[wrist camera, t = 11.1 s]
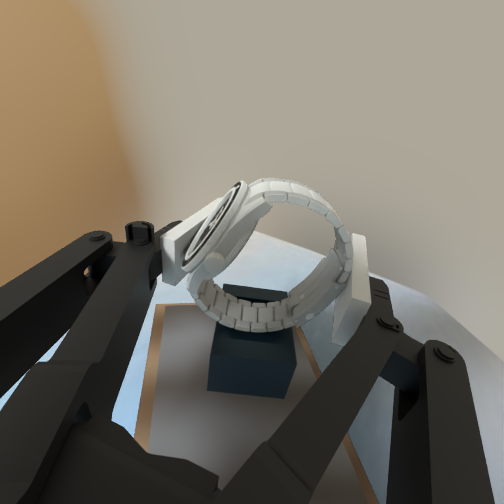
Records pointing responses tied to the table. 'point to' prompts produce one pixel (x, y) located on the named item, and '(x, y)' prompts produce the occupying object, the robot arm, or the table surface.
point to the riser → (225, 408)
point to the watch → (259, 290)
